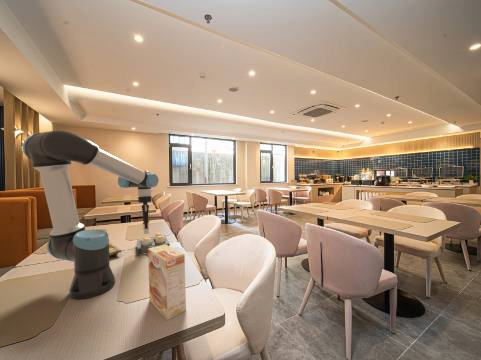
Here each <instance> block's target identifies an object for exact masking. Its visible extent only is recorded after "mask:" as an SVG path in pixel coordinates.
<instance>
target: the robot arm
mask: <svg viewBox="0 0 481 360" xmlns="http://www.w3.org/2000/svg"><path fill="white" fill-rule="evenodd" d="M22 151H23V154H24V155H25V157H27V158H28V159H29V160H31V164H32V168H33V169H35V170H37V171H38V172H39V173H40V174H39V175H40V177H41V181H42V187H43V190H44V195H45V199H46V203H47V207H48V211H49V216H50V220H51V225H52V229H51V231H50V232H49V233H48V234H49V237H50V238H49V240H48V241H47V243H46V249H47V252H48V254H50V256H52V257H54V258H56V260H57V259H58V260H63V261H64V260H65V261H69V262H73V263H74V264H73V266H74V268H73V269H74V275H73V278H72V281H71V284H70V287H69V298H71V299H73V300H84V299H89V298H93V297H96V296H100V295H102V294H103V293H106V292H107V291H109V290H111V289H112V288H113V287H114V286H115V283H116V277H115V274H114V273H113V270H112V269H111V265H110V257H109V243H110V239H109V233H108V232H107V231H105V230H103V229H92V228H91V229H86V227H85V224H84V223H82V222H80V219H79V214H78V211H77V205H76V201H75V196H74V192H73V187H72V182H71V178H70V177H71V176H70V172H69V169H70V167H71V166H72V162H75V163H79V164H81V165H83V166H87V165H89V166H92V167H95V168H98V169H100V170H102V171H105V172H108V173H110V174H112V175H114V176H117V184H118V186H119V187H120V188H122V189H129V188H137V200H138V201H137V202H138V203H139V204H141V211H142V216H143V219H142V221H143V222H142V224H143V234H144V235H147V234H150V233H149V232H150V230H149V225H150V224H149V223H150V221H149V211H150V209H149V208H150V205H149V204H148V203H151V202H153V201H152V199H153V198H152V192H153V190H152V188H156V187H157V186H158V184H159V182H160V181H159V177H158V175H157V174H156V173H151V171H150V170H142V169H140V168H138V167H136V166H134V165H132V164H130V163H128V162H126V161H124V160H123V159H120V158H118V157H117V156H114V155H112V154H110V153H109V152H106V151H104V150H103V149H101V148H99V145H98V144H96V143H95V142H92V141H90V140H89V139H86V138H85V137H82V136H81V135H78V134H76V133H73V132H70V131H67V130H60V129H57V130H50V131H43V132H37V133H34V134H32V135H29V136H28V137H27V138H26V139H25V140H24V142H23V143H22Z"/></svg>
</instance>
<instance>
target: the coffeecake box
mask: <svg viewBox="0 0 481 360" xmlns="http://www.w3.org/2000/svg"><path fill="white" fill-rule="evenodd" d="M147 258H148V259H147V260H148V282H149V283H148V284H149V285H148V286H149V293H148V294H149V302H150V303H151V304H152V305H153V306H154V308H156V310H158V312H159V313H160V314H161V315H162V316H163V318H165V319H166V320H167V321H169V320H170V319H172V318H174V317H176V316H177V315H179V314H182V313H184V312H185V311H187V296H186V295H187V294H186V270H185V269H186V261H185V253H183V252H181V251H179V250H178V249H176V248H174V247H172V246H168V245H166V244H164V245H160V246H156V247H152V248H149V249H148V255H147Z"/></svg>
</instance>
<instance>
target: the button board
mask: <svg viewBox="0 0 481 360" xmlns="http://www.w3.org/2000/svg"><path fill="white" fill-rule="evenodd" d="M163 236H164V235H163ZM150 238H151V245H150V246H146V247H142V243H141V240H142V239H138V240H136V249H137V251H136V252H137V256H140V255H143V254H144V253H146V254H147V253H148V249H149V248H152V247H156V246H160V245H164V244H166V245H168V246H170V245H171V244H170V242H169V240H168V238H167V237H166V236H164V243H163V244H158V245H157V244H156V241H155V237H150ZM170 247H171V246H170ZM139 254H140V255H139ZM144 255H145V254H144Z"/></svg>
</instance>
